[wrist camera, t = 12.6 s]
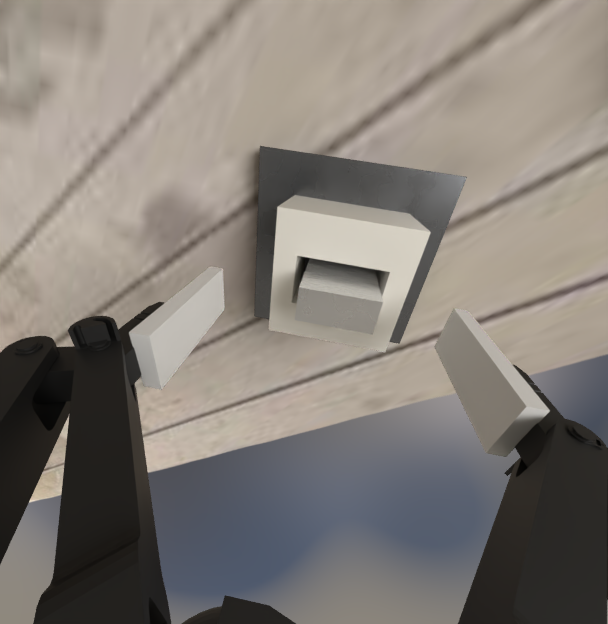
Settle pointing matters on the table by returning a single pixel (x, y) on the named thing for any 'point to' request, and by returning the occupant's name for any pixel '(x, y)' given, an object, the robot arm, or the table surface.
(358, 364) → the table surface
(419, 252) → the square block with hole
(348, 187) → the shaft base
